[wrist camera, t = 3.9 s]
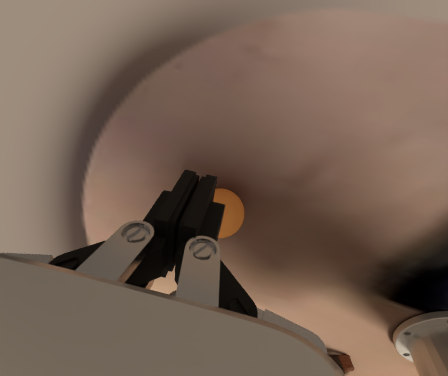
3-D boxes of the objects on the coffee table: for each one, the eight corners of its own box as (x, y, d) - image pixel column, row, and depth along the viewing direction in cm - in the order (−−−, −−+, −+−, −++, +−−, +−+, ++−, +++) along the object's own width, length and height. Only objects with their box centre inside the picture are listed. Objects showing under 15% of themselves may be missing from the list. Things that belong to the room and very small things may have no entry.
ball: (252, 186, 28) (247, 216, 24) (240, 222, 31) (234, 254, 27) (205, 174, 29) (192, 200, 24) (198, 210, 32) (185, 240, 27)
